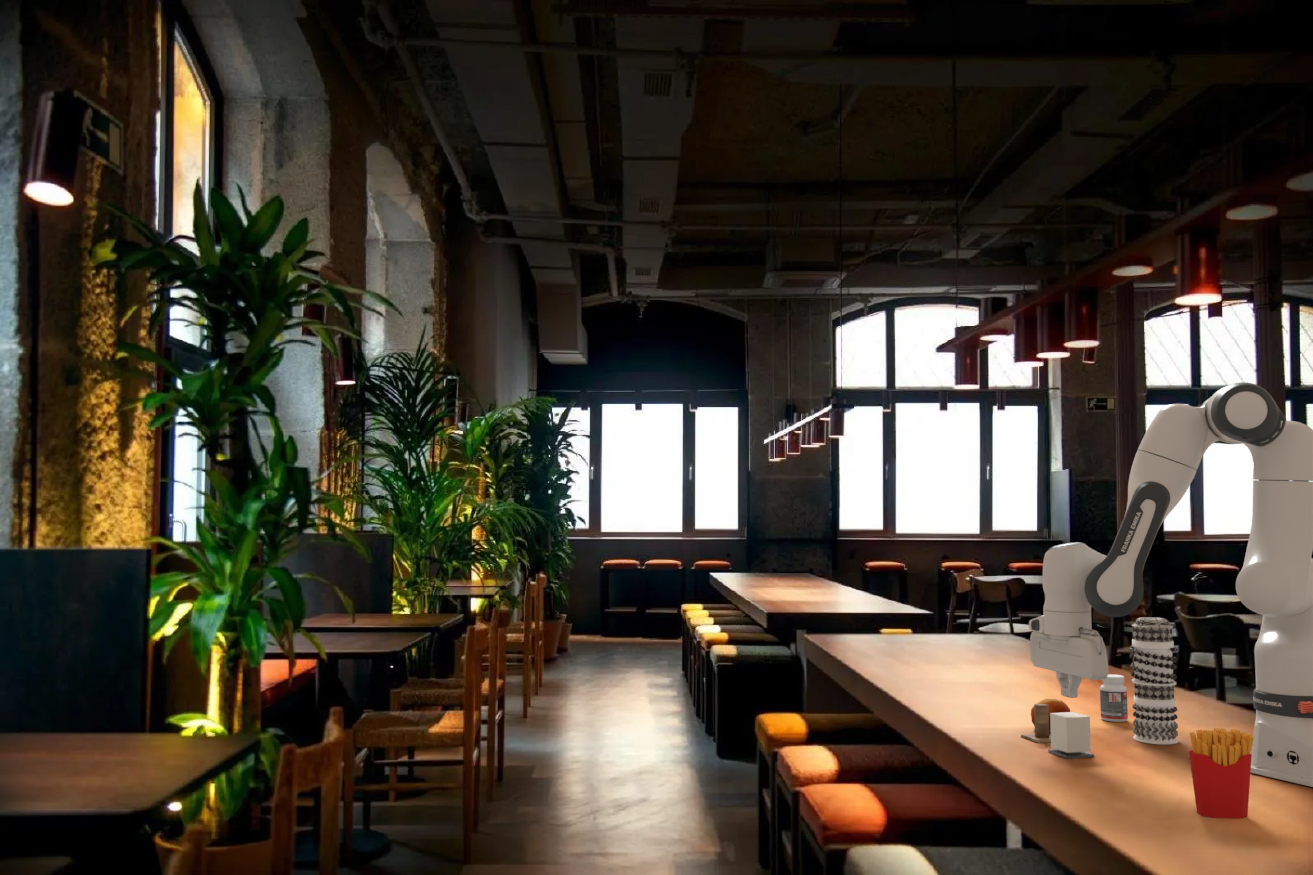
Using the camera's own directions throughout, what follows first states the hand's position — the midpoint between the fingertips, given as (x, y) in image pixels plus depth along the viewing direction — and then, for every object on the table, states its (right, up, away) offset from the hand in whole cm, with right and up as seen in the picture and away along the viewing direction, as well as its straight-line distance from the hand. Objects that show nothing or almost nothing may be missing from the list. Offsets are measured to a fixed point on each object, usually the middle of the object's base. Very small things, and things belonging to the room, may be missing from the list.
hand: (1069, 696), depth 215 cm
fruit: (+4, -13, +22) cm, 26 cm away
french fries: (+8, -9, -43) cm, 45 cm away
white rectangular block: (0, -10, -1) cm, 10 cm away
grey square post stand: (0, -11, -1) cm, 11 cm away
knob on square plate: (-1, -12, +14) cm, 18 cm away
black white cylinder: (+22, -12, +12) cm, 28 cm away
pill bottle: (+23, -14, +34) cm, 43 cm away
